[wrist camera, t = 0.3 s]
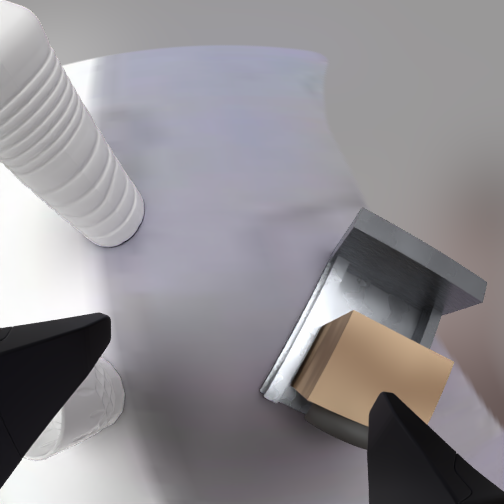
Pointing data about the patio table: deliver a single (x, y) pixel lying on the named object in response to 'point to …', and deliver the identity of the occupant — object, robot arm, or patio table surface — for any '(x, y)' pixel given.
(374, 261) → the grey open holder
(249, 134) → the patio table surface
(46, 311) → the patio table surface
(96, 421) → the white cup
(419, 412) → the tan box
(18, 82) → the water bottle
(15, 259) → the patio table surface
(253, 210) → the patio table surface
